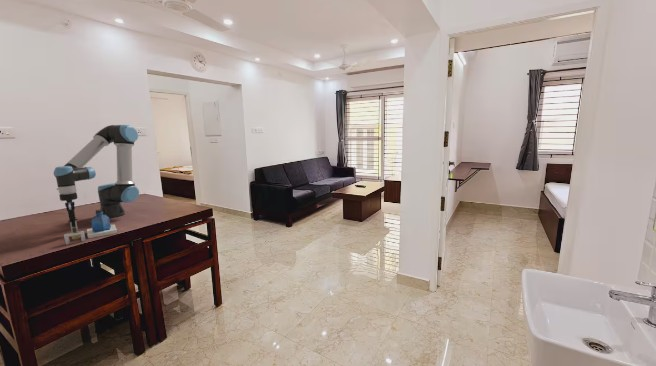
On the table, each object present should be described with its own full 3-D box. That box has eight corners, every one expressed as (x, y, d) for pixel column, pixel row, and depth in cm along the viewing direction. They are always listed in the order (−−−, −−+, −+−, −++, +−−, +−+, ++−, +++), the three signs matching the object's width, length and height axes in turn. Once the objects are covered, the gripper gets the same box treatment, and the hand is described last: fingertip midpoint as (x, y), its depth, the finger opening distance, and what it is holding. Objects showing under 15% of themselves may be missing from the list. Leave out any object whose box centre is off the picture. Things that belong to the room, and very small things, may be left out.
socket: (87, 232, 170) (86, 229, 170) (115, 227, 179) (114, 224, 179) (88, 238, 160) (87, 235, 160) (117, 232, 169) (116, 229, 169)
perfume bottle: (100, 227, 172) (96, 209, 170) (110, 227, 173) (107, 208, 170) (92, 231, 166) (89, 211, 164) (103, 231, 167) (100, 211, 164)
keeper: (65, 243, 153) (64, 234, 152) (85, 239, 159) (83, 230, 158) (65, 244, 152) (63, 235, 151) (85, 240, 157) (84, 231, 156)
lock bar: (72, 236, 165) (70, 227, 164) (79, 234, 166) (77, 226, 166) (72, 239, 159) (70, 231, 158) (79, 238, 161) (77, 230, 160)
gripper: (59, 192, 165) (66, 230, 170) (58, 195, 156) (65, 236, 160) (76, 190, 170) (83, 227, 175) (76, 193, 161) (83, 233, 165)
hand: (74, 231), depth 167 cm, fingers closed
